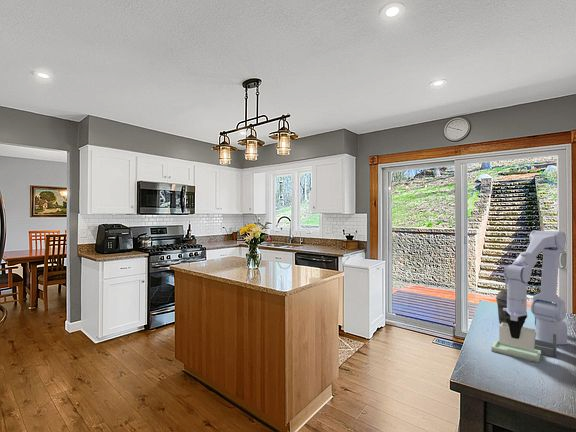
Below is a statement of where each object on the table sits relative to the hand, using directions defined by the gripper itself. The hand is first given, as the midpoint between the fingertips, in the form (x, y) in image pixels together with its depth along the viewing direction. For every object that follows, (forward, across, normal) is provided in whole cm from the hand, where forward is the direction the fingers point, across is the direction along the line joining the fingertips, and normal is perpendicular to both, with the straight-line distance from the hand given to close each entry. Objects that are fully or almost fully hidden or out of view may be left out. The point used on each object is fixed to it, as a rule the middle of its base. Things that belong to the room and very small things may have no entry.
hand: (516, 335), depth 112 cm
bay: (+6, -10, +7) cm, 13 cm away
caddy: (+3, 0, 0) cm, 3 cm away
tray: (+6, 0, 0) cm, 6 cm away
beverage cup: (+6, -34, -8) cm, 35 cm away
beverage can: (+6, -38, +6) cm, 39 cm away
